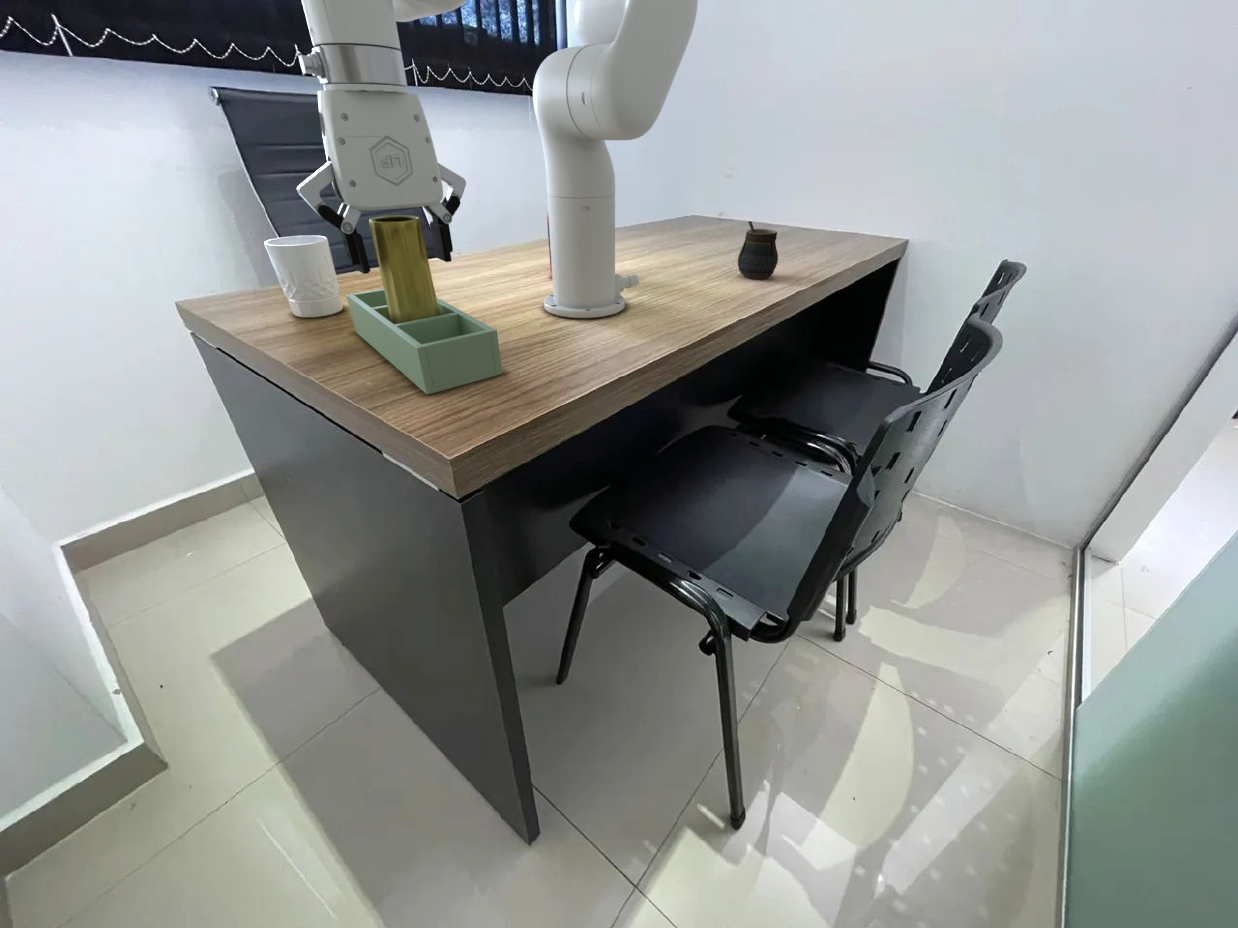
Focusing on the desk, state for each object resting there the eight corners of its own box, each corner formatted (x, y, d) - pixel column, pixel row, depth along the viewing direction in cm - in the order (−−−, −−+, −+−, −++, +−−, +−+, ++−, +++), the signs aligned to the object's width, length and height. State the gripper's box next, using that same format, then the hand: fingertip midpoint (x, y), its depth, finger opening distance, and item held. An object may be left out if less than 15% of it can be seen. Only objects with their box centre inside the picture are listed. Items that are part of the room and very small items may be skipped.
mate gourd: (782, 276, 97) (792, 219, 92) (762, 284, 93) (772, 223, 87) (748, 270, 101) (756, 215, 96) (728, 277, 96) (735, 219, 91)
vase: (447, 351, 62) (423, 221, 54) (393, 356, 60) (360, 223, 52) (446, 335, 66) (424, 213, 59) (396, 339, 65) (367, 215, 57)
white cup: (324, 321, 73) (300, 246, 68) (276, 317, 75) (249, 244, 69) (358, 305, 80) (339, 236, 74) (313, 302, 81) (292, 234, 76)
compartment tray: (420, 320, 74) (412, 284, 71) (502, 374, 58) (497, 330, 55) (356, 332, 69) (345, 294, 67) (427, 395, 53) (416, 348, 51)
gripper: (267, 65, 42) (332, 284, 51) (466, 77, 51) (489, 261, 60) (252, 72, 46) (313, 270, 56) (436, 81, 56) (462, 250, 65)
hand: (405, 265), depth 58 cm, fingers open, 8 cm apart
